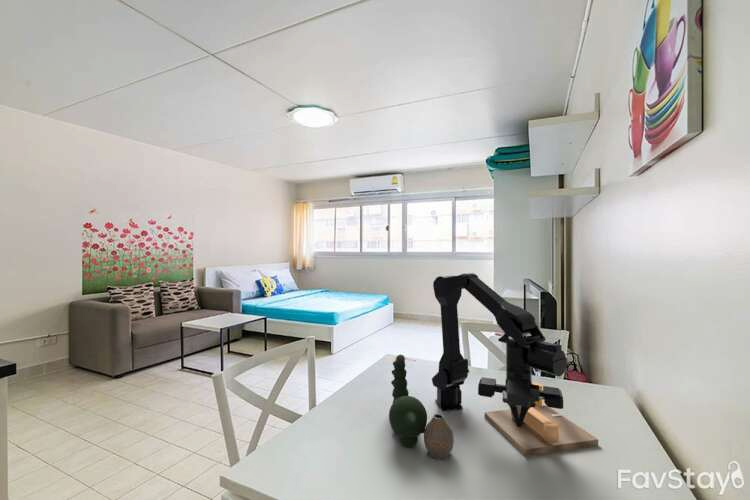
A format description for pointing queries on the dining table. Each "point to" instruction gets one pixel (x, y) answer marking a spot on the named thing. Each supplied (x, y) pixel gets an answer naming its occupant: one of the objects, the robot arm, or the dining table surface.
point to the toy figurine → (405, 408)
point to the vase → (438, 437)
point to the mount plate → (535, 443)
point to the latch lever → (541, 424)
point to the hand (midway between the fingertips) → (519, 426)
